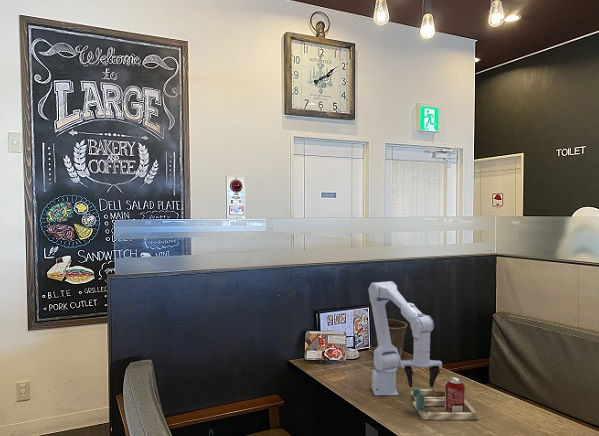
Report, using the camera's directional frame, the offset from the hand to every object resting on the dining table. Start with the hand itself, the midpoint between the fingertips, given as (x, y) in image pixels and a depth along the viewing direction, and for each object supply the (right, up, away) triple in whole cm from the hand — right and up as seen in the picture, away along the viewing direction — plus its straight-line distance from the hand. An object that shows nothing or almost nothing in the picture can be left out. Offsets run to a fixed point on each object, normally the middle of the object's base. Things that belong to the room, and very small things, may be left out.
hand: (420, 386), depth 166 cm
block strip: (+8, -9, +11) cm, 16 cm away
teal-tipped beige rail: (+9, -9, 0) cm, 13 cm away
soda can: (+12, -10, 0) cm, 16 cm away
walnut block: (+10, -9, +11) cm, 18 cm away
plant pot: (+1, -8, +62) cm, 63 cm away
